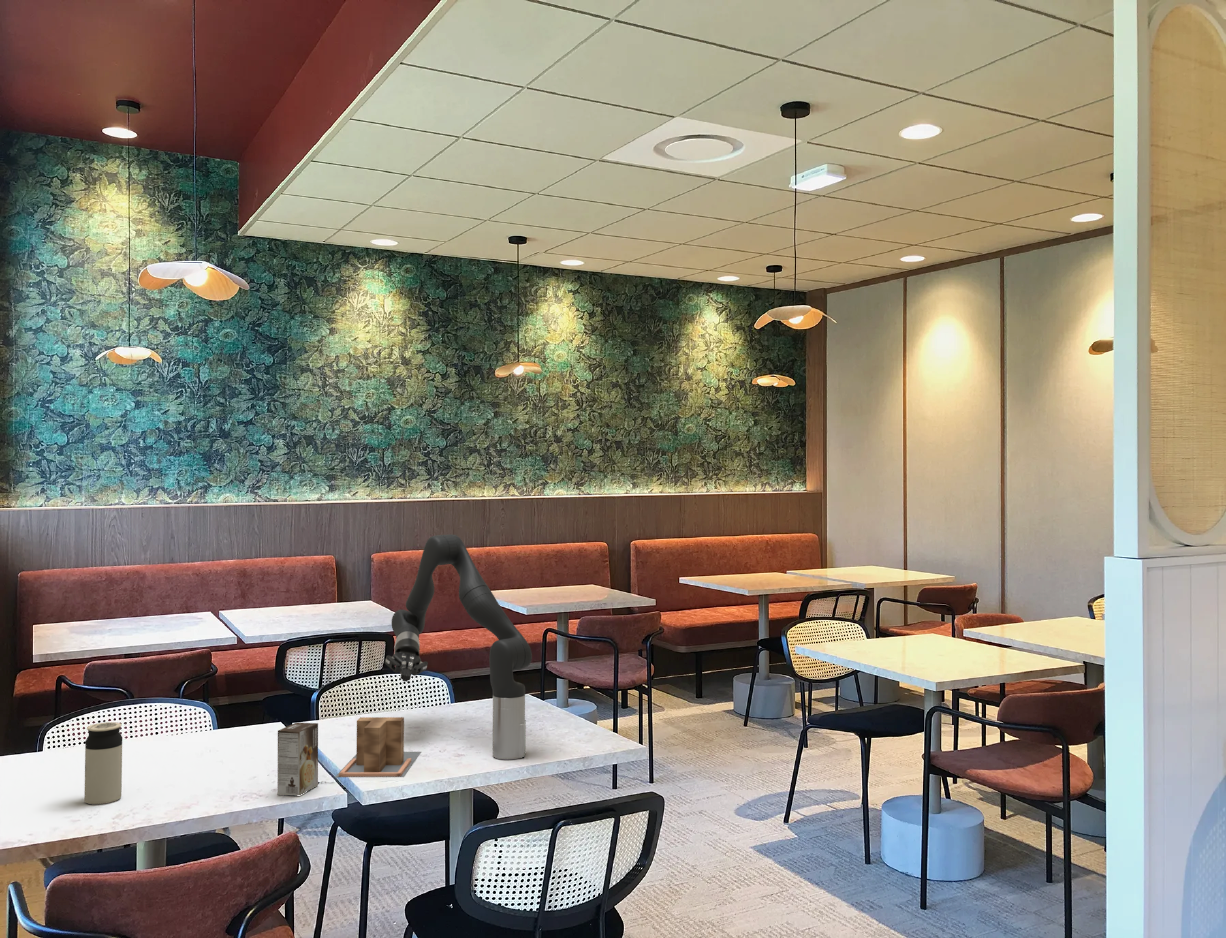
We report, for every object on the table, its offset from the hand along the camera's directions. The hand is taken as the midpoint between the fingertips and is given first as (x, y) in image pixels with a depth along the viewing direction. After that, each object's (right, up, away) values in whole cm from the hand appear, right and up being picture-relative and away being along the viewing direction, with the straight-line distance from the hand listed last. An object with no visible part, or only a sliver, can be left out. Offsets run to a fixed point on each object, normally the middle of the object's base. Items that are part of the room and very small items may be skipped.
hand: (405, 678), depth 279 cm
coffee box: (-19, -20, -38) cm, 47 cm away
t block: (-3, -19, -20) cm, 28 cm away
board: (-3, -20, -17) cm, 27 cm away
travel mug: (-64, -20, -45) cm, 81 cm away
